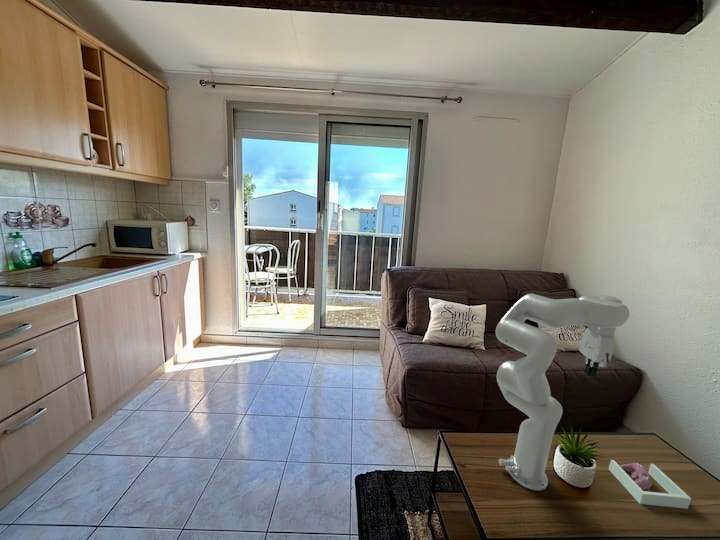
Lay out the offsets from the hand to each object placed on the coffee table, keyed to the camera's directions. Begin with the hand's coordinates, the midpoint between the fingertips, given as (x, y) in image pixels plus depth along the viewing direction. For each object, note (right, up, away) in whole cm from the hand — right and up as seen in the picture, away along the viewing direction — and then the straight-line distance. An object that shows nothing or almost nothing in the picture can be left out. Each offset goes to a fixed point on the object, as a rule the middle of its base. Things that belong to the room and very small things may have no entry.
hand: (589, 374), depth 110 cm
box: (+12, -35, -9) cm, 38 cm away
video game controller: (+10, -35, -7) cm, 37 cm away
